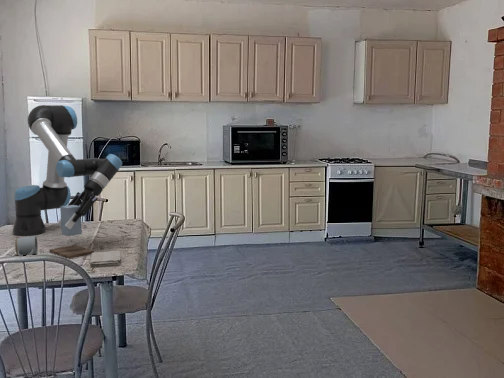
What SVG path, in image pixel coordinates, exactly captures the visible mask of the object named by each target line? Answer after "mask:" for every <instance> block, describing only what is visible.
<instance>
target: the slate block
mask: <svg viewBox="0 0 504 378" xmlns="http://www.w3.org/2000/svg"><path fill="white" fill-rule="evenodd" d="M79 207H80V206H76V205H68V206H61V207H60V208H59V210H60V219H61V228H60V229H61V231H60V232H61V235H63V236H66V237H73V236H78V235H83V230H82V229H83V228H82V217H80V218H79V219H78V220H77V221H76V223H75V224H74V225H73V227H72V228H71V229H68V228H67V227H66V226H65V225H66V223H67V222H68V221H69V220H70V218H71V217H72V216H73V214H74V213H75V212H76V211H78V209H79ZM75 214H76V213H75Z"/></svg>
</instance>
